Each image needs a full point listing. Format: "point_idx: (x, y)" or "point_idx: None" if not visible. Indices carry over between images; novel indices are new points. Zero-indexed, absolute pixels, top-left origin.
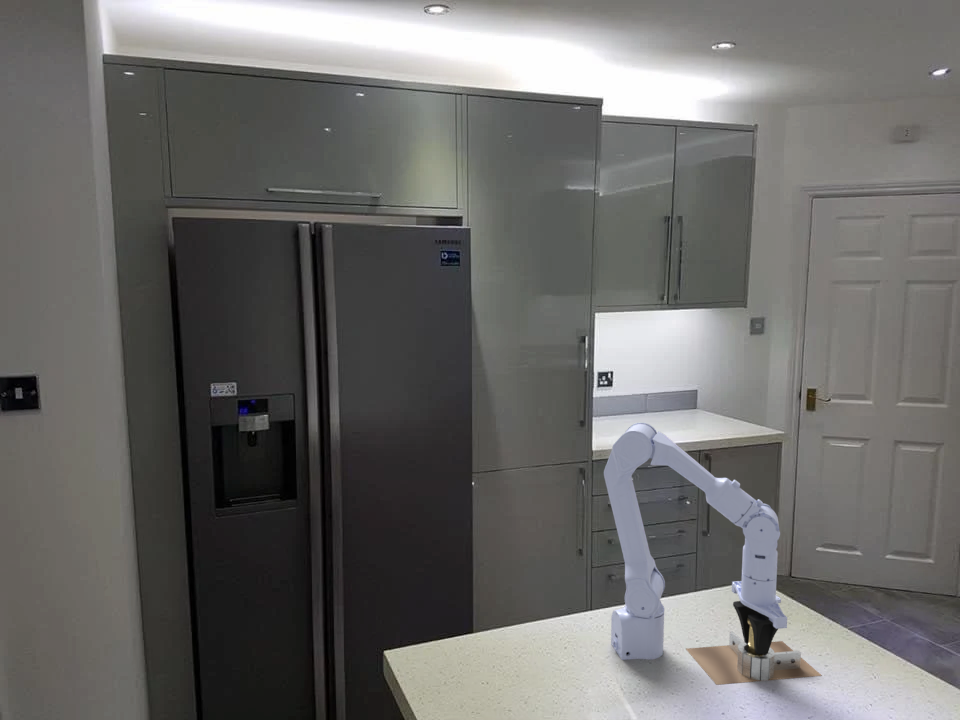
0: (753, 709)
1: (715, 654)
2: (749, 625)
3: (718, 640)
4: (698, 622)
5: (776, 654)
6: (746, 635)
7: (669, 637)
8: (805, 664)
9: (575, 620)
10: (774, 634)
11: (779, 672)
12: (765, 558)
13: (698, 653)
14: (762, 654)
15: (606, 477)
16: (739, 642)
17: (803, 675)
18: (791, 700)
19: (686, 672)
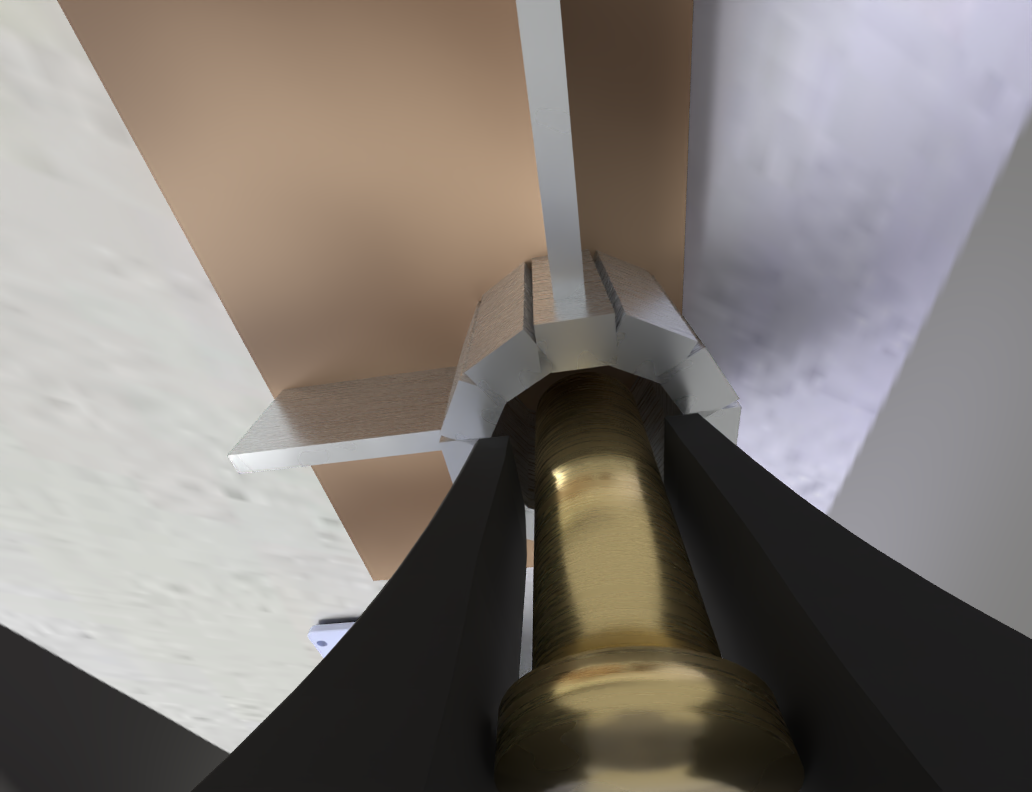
0: (843, 450)
1: (405, 493)
2: (502, 650)
3: (187, 402)
4: (4, 440)
5: (579, 250)
6: (522, 571)
7: (250, 577)
8: None
9: (238, 742)
10: (914, 579)
11: (601, 201)
12: None
13: (408, 550)
14: (625, 405)
15: None
16: (380, 451)
17: None
18: (852, 226)
19: (529, 584)
